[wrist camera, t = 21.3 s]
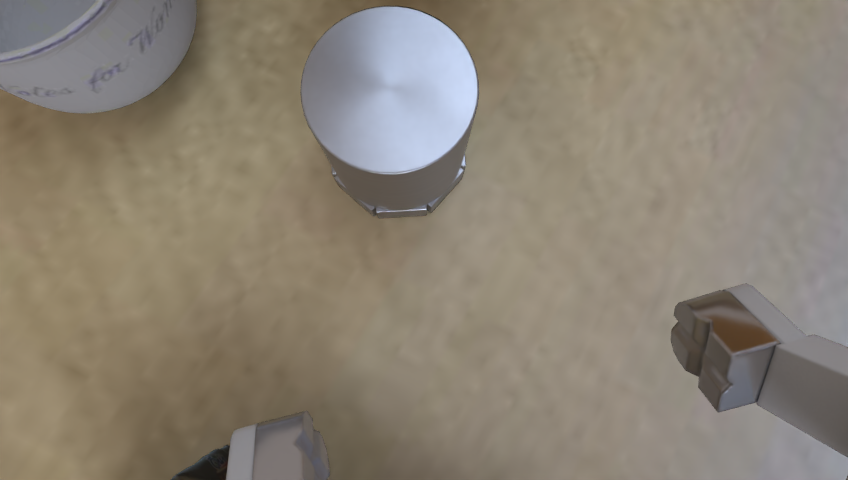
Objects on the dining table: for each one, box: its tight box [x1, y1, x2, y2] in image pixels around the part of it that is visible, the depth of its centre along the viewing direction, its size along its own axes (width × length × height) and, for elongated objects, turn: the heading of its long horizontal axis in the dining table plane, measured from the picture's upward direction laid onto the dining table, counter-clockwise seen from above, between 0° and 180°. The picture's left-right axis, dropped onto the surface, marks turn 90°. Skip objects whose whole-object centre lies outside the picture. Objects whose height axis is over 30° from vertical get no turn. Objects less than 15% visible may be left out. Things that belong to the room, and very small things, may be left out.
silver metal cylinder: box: [301, 6, 479, 218], centre depth 23 cm, size 6×6×8 cm
